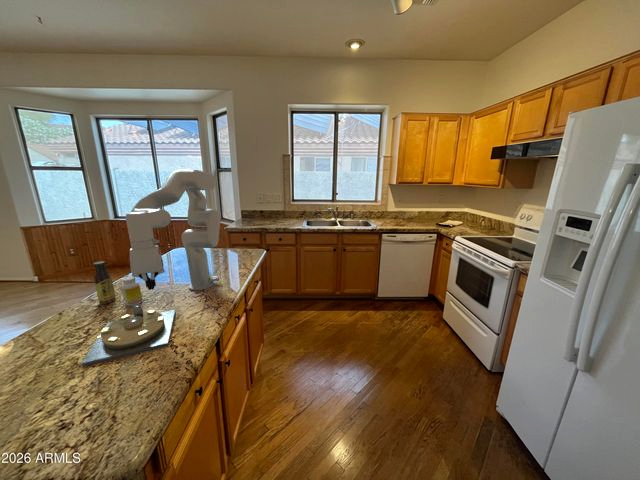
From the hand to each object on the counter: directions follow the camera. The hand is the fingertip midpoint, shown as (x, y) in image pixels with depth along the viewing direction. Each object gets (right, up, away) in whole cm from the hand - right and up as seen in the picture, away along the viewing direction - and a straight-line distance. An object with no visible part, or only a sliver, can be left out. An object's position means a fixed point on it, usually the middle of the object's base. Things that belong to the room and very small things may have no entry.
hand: (151, 288), depth 100 cm
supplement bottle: (-21, -11, +19) cm, 31 cm away
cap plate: (-3, -17, -4) cm, 18 cm away
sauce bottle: (-35, -10, +21) cm, 42 cm away
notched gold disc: (-3, -15, -5) cm, 16 cm away
